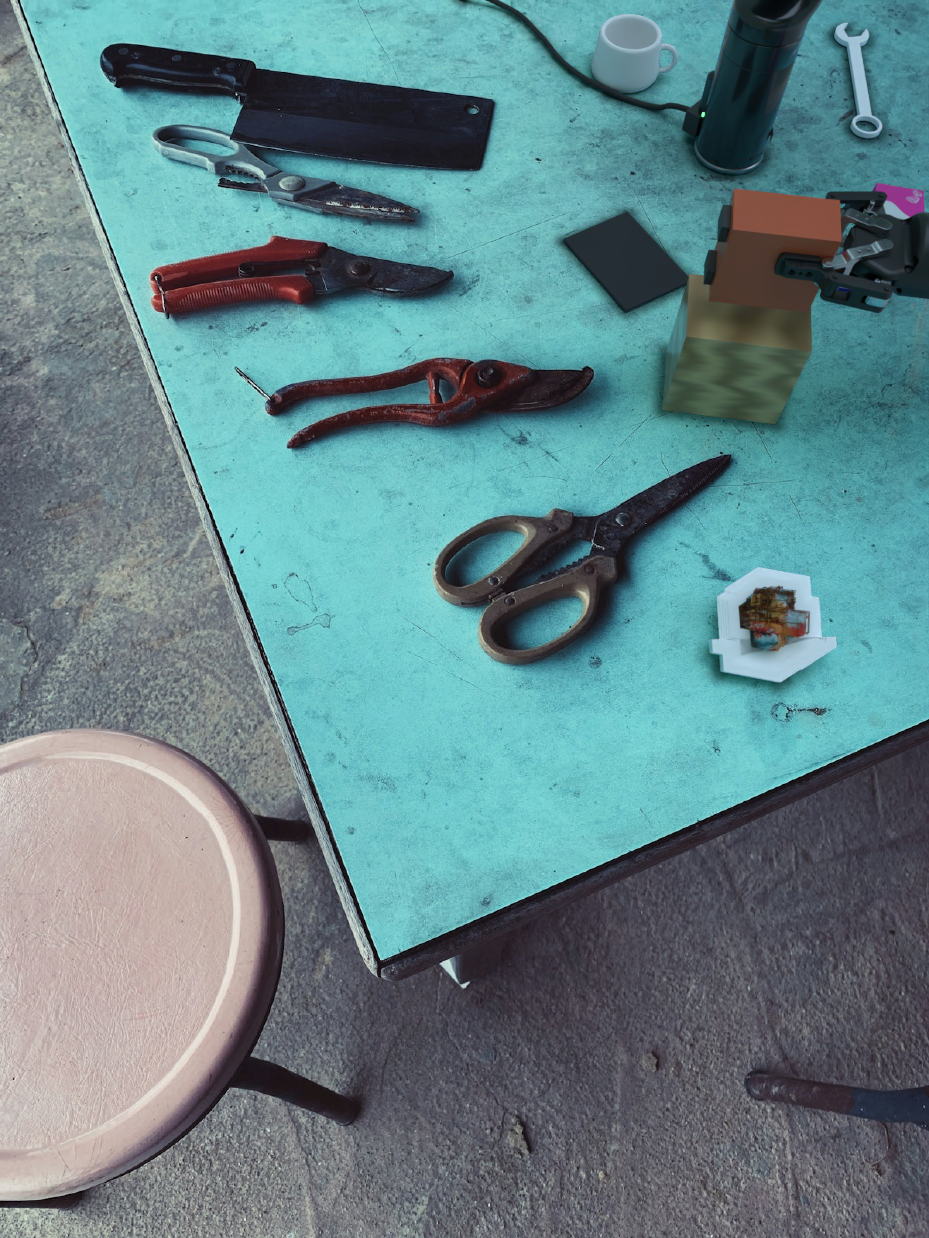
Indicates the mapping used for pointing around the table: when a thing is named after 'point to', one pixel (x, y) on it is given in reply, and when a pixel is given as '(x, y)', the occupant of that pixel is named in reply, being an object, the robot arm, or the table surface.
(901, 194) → the supplement box
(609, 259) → the mat
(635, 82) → the mug
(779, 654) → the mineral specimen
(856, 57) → the wrench
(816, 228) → the block
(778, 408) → the stand
